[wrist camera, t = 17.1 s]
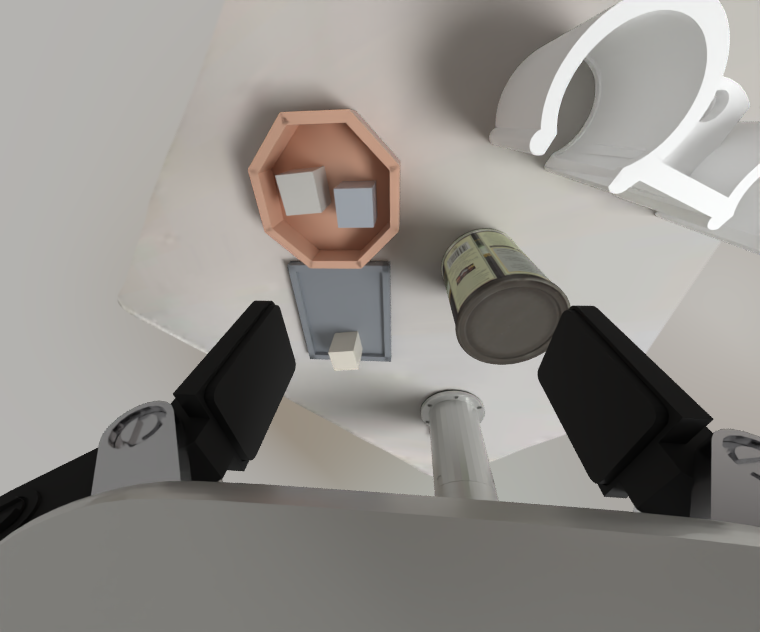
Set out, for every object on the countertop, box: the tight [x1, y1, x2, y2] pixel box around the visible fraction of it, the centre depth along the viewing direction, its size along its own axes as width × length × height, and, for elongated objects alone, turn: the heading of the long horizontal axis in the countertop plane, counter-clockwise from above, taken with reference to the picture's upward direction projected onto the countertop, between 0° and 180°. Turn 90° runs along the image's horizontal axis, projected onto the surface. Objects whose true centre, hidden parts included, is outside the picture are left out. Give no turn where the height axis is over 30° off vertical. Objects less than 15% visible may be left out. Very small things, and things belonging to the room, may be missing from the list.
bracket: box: [489, 0, 760, 255], centre depth 24 cm, size 25×10×12 cm, turn 69°
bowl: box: [248, 109, 400, 269], centre depth 32 cm, size 16×16×4 cm
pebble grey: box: [275, 166, 331, 216], centre depth 31 cm, size 4×4×5 cm
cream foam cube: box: [328, 331, 363, 371], centre depth 44 cm, size 4×4×5 cm
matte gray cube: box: [334, 180, 378, 228], centre depth 31 cm, size 4×4×5 cm
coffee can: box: [441, 229, 570, 365], centre depth 32 cm, size 10×10×14 cm
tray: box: [287, 261, 391, 362], centre depth 43 cm, size 18×14×1 cm
